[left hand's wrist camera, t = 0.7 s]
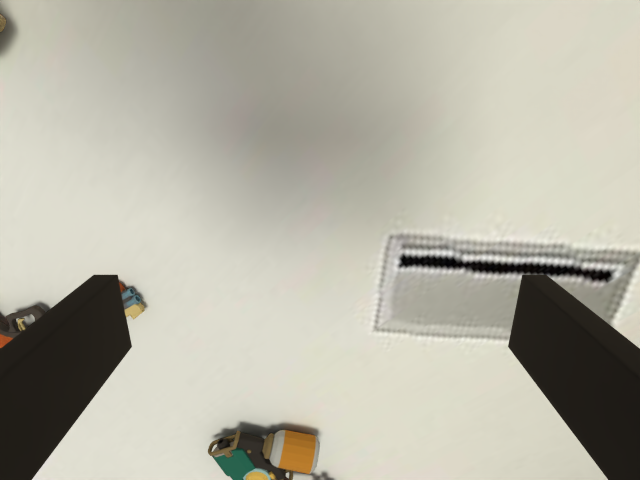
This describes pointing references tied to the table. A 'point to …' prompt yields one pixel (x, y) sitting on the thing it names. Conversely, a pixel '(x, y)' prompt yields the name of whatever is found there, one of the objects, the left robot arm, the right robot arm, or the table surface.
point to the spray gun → (266, 455)
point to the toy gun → (4, 333)
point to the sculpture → (2, 23)
